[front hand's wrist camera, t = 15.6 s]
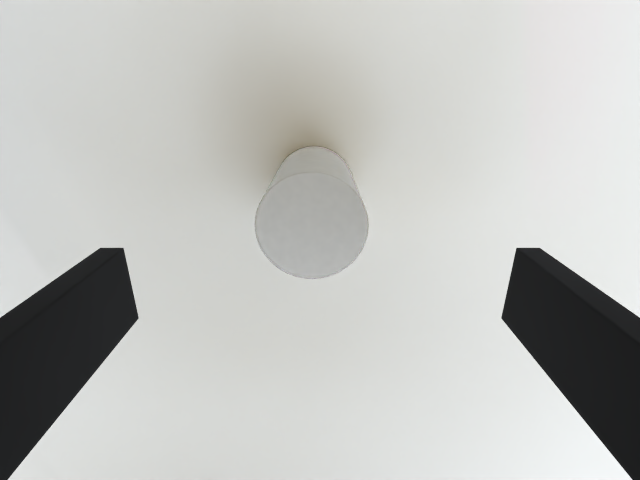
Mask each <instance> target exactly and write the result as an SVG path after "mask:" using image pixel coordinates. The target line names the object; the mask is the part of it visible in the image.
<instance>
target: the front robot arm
mask: <svg viewBox="0 0 640 480" xmlns="http://www.w3.org/2000/svg"><path fill="white" fill-rule="evenodd" d="M137 320H138V313H137V309H136V304H135V299H134V295H133V290H132V286H131V281H130V276H129V272H128V267H127V262H126V258H125V253H124V249H123V248H100V249H98V250H97V251H95V252H94V253H93V254H91V255H90V256H88V257H87V258H85V259H84V260H82V261H81V262H80V263H78V264H77V265H75V266H74V267H72V268H71V269H70V270H68V271H67V272H65V273H64V274H62V275H61V276H60V277H58V278H57V279H55V280H54V281H52V282H51V283H49V284H48V285H47V286H45V287H44V288H42V289H41V290H39V291H38V292H37V293H35V294H34V295H32V296H31V297H29V298H28V299H27V300H25V301H24V302H22V303H21V304H19V305H18V306H17V307H15V308H14V309H12V310H11V311H9V312H8V313H6V314H5V315H4V316H2V317H1V318H0V480H8V478H9V477H10V476H11V475H12V473H13V472H14V471H15V470H16V468H17V467H18V466H19V465H20V464H21V462H22V461H23V460H24V459H25V457H26V456H27V455H28V454H29V452H30V451H31V450H32V449H33V448H34V446H35V445H36V444H37V443H38V441H39V440H40V439H41V438H42V436H43V435H44V434H45V433H46V432H47V430H48V429H49V428H50V427H51V425H52V424H53V423H54V422H55V420H56V419H57V418H58V417H59V416H60V414H61V413H62V412H63V411H64V409H65V408H66V407H67V406H68V404H69V403H70V402H71V401H72V400H73V398H74V397H75V396H76V395H77V393H78V392H79V391H80V390H81V388H82V387H83V386H84V385H85V384H86V382H87V381H88V380H89V379H90V377H91V376H92V375H93V374H94V372H95V371H96V370H97V369H98V368H99V366H100V365H101V364H102V363H103V361H104V360H105V359H106V358H107V356H108V355H109V354H110V353H111V352H112V350H113V349H114V348H115V347H116V345H117V344H118V343H119V342H120V340H121V339H122V338H123V337H124V336H125V334H126V333H127V332H128V331H129V329H130V328H131V327H132V326H133V324H134V323H135V322H136V321H137ZM502 320H503V321H504V322H505V323H506V324H507V326H508V327H509V328H510V329H511V331H512V332H513V333H514V334H515V336H516V337H517V338H518V339H519V340H520V342H521V343H522V344H523V345H524V347H525V348H526V349H527V350H528V352H529V353H530V354H531V355H532V356H533V358H534V359H535V360H536V361H537V363H538V364H539V365H540V366H541V368H542V369H543V370H544V371H545V372H546V374H547V375H548V376H549V377H550V379H551V380H552V381H553V382H554V384H555V385H556V386H557V387H558V388H559V390H560V391H561V392H562V393H563V395H564V396H565V397H566V398H567V400H568V401H569V402H570V403H571V404H572V406H573V407H574V408H575V409H576V411H577V412H578V413H579V414H580V416H581V417H582V418H583V419H584V420H585V422H586V423H587V424H588V425H589V427H590V428H591V429H592V430H593V432H594V433H595V434H596V435H597V436H598V438H599V439H600V440H601V441H602V443H603V444H604V445H605V446H606V448H607V449H608V450H609V451H610V452H611V454H612V455H613V456H614V457H615V459H616V460H617V461H618V462H619V464H620V465H621V466H622V467H623V468H624V470H625V471H626V472H627V473H628V475H629V476H630V477H631V478H632V480H640V318H639V317H638V316H636V315H635V314H634V313H632V312H631V311H629V310H628V309H626V308H625V307H623V306H622V305H621V304H619V303H618V302H616V301H615V300H613V299H612V298H611V297H609V296H608V295H606V294H605V293H603V292H602V291H601V290H599V289H598V288H596V287H595V286H593V285H592V284H591V283H589V282H588V281H586V280H585V279H583V278H582V277H580V276H579V275H578V274H576V273H575V272H573V271H572V270H570V269H569V268H568V267H566V266H565V265H563V264H562V263H560V262H559V261H558V260H556V259H555V258H553V257H552V256H550V255H549V254H547V253H546V252H545V251H543V250H542V249H540V248H517V249H516V253H515V258H514V262H513V267H512V272H511V276H510V281H509V286H508V290H507V295H506V299H505V304H504V309H503V313H502Z"/></svg>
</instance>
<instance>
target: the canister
mask: <svg viewBox="0 0 640 480" xmlns="http://www.w3.org/2000/svg"><path fill="white" fill-rule="evenodd" d="M255 232H256V237H257V240H258V243H259V245H260V247H261V250H262V251H263V253H264V254H265V256H266V257H267V258H268V259H269V260H270V262H272V263H273V264H274V265H275V266H276V267H278V268H279V269H281V270H282V271H284V272H286V273H288V274H291V275H293V276H297V277H301V278H311V279H315V278H323V277H328V276H331V275H334V274H336V273H338V272H340V271H342V270H343V269H345V268H346V267H348V266H349V265H350V264H351V263H352V262H353V261H354V260H355V259H356V258H357V257H358V255H359V254H360V253H361V251H362V249H363V247H364V245H365V242H366V239H367V234H368V216H367V212H366V209H365V206H364V203H363V201H362V199H361V196H360V194H359V191H358V189H357V186H356V184H355V181H354V179H353V177H352V174H351V172H350V169H349V167H348V165H347V164H346V162H345V161H344V160H343V159H342V158H341V157H340V156H339V155H338V154H337V153H335V152H333V151H332V150H329V149H327V148H324V147H318V146H311V147H305V148H301V149H299V150H296V151H295V152H293V153H292V154H290V155H289V156H288V157H287V158H286V159H285V160H284V161H283V163H282V164H281V166H280V168H279V170H278V171H277V173H276V175H275V177H274V178H273V180H272V182H271V184H270V186H269V187H268V189H267V191H266V193H265V194H264V196H263V198H262V200H261V202H260V204H259V206H258V209H257V212H256V217H255Z"/></svg>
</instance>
